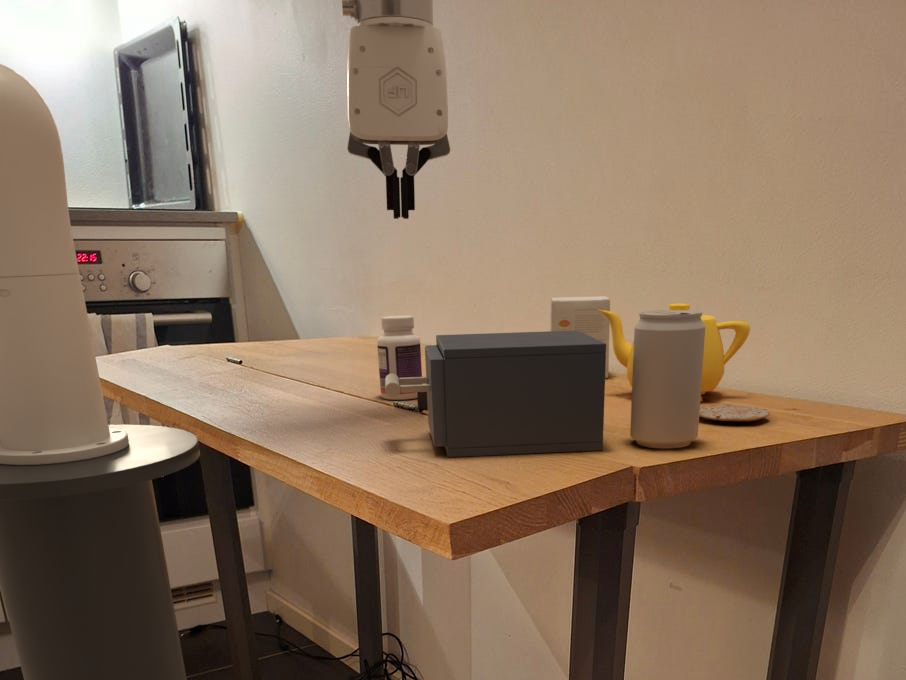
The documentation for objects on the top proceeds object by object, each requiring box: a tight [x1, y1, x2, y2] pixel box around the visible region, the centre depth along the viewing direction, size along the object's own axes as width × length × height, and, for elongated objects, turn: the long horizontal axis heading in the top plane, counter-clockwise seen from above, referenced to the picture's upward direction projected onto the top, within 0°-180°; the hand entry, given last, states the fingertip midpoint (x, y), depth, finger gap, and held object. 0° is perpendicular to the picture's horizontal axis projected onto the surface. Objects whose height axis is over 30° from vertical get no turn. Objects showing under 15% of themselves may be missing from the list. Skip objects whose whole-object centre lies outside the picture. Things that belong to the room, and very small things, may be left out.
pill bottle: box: [376, 315, 423, 401], centre depth 114 cm, size 5×5×10 cm
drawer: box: [385, 344, 447, 448], centre depth 88 cm, size 18×11×8 cm, turn 96°
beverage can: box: [629, 309, 705, 449], centre depth 84 cm, size 6×6×12 cm
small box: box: [549, 295, 611, 379], centre depth 126 cm, size 8×6×10 cm
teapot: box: [598, 302, 751, 402], centre depth 109 cm, size 18×11×11 cm, turn 74°
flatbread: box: [699, 403, 771, 422], centre depth 97 cm, size 8×8×1 cm
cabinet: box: [435, 330, 606, 458], centre depth 88 cm, size 15×13×10 cm
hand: (401, 217), depth 97 cm, fingers closed
